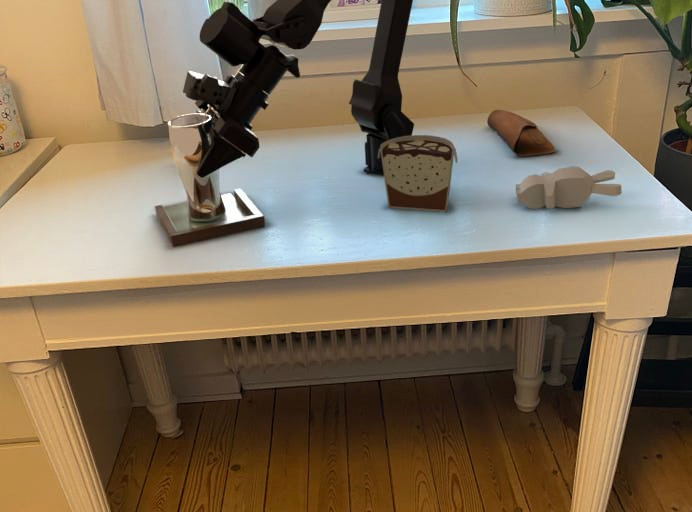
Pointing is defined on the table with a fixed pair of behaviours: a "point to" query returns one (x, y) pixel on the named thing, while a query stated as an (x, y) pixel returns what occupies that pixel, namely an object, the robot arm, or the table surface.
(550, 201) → the bunny figurine
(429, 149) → the food container
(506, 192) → the table surface
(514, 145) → the sunglasses case
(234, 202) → the dock
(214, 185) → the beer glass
